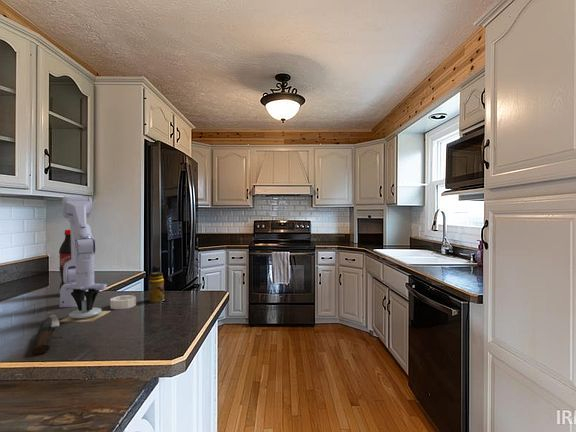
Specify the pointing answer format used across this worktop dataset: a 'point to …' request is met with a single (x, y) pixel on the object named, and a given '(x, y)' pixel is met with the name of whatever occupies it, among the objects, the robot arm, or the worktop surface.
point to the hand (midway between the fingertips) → (85, 310)
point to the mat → (87, 319)
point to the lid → (84, 312)
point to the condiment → (156, 287)
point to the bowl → (123, 302)
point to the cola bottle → (65, 254)
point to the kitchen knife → (45, 335)
